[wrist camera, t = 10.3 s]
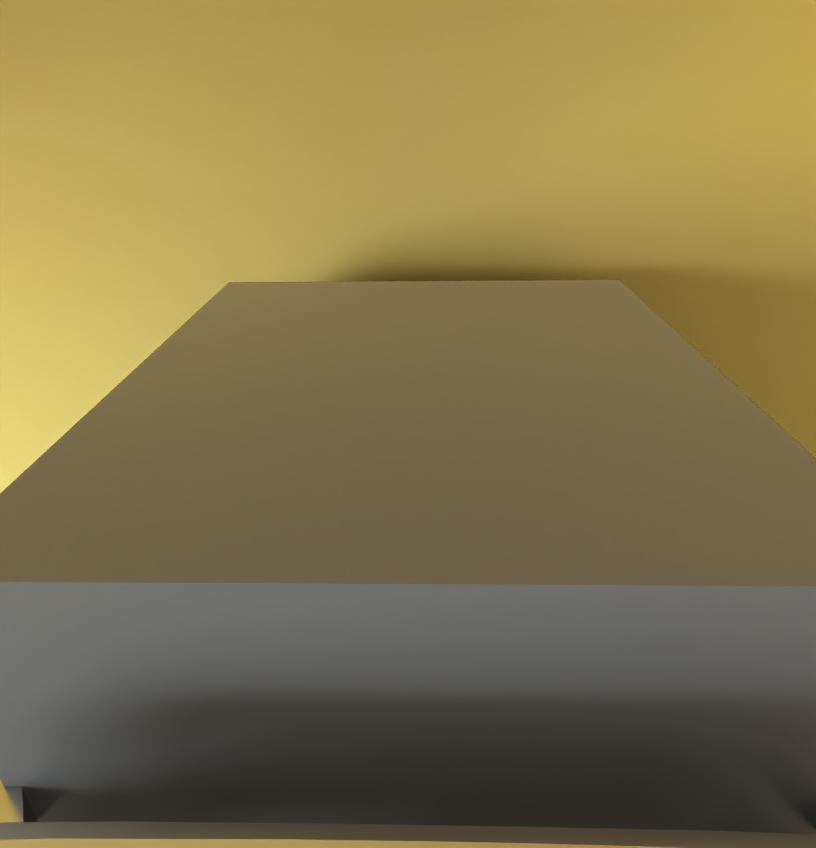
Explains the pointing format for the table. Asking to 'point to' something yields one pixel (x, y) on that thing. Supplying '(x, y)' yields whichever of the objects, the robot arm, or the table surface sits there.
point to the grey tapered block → (416, 574)
